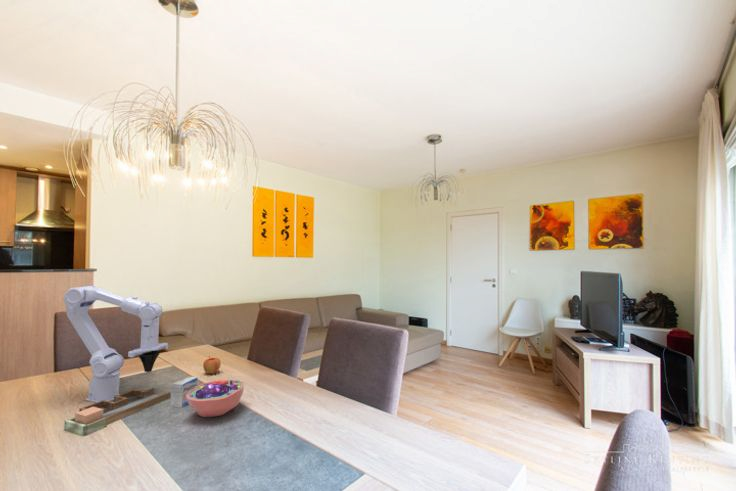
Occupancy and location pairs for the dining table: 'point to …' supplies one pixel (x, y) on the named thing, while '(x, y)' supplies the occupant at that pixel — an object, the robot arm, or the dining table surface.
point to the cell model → (215, 397)
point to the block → (89, 415)
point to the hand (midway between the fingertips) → (148, 371)
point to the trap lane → (117, 409)
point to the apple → (211, 365)
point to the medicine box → (182, 391)
